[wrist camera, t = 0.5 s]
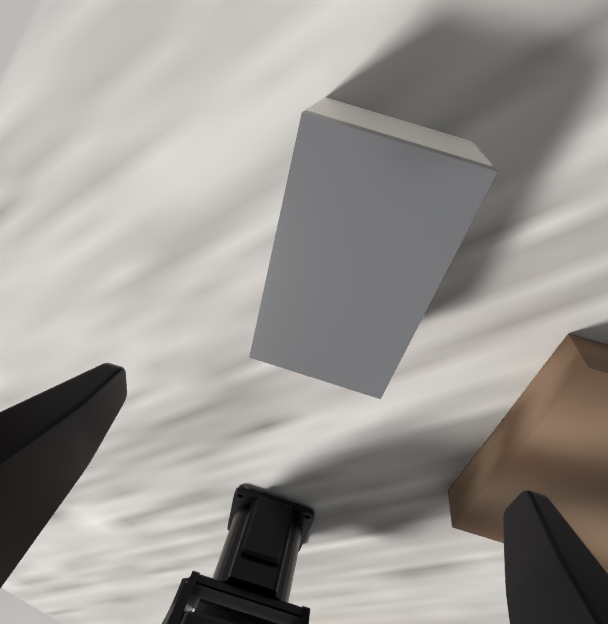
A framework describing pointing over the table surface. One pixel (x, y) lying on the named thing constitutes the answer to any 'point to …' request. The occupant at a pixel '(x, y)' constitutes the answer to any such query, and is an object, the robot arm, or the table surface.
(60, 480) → the robot arm
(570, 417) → the walnut stand
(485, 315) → the table surface
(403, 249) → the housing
